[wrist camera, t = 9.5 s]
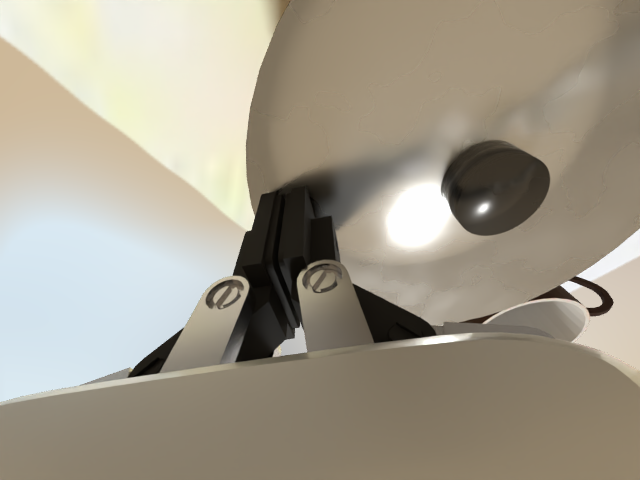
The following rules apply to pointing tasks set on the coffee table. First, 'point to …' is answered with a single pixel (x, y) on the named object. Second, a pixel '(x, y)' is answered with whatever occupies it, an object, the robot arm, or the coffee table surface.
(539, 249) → the cooker lid
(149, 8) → the coffee table surface
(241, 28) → the coffee table surface
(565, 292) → the coffee mug
